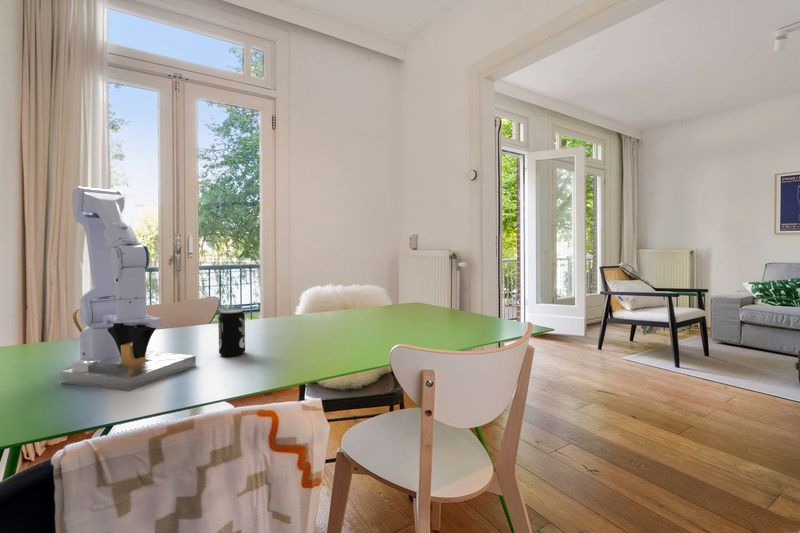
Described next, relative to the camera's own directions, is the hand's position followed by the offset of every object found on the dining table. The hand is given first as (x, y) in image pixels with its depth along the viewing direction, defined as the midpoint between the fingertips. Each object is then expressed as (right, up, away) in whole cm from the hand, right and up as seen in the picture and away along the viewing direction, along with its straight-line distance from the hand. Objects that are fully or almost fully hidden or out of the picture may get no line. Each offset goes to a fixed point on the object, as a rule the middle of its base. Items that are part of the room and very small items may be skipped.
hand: (133, 356), depth 91 cm
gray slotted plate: (0, -4, 0) cm, 4 cm away
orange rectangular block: (0, -4, 0) cm, 4 cm away
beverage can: (+16, -3, +17) cm, 23 cm away
